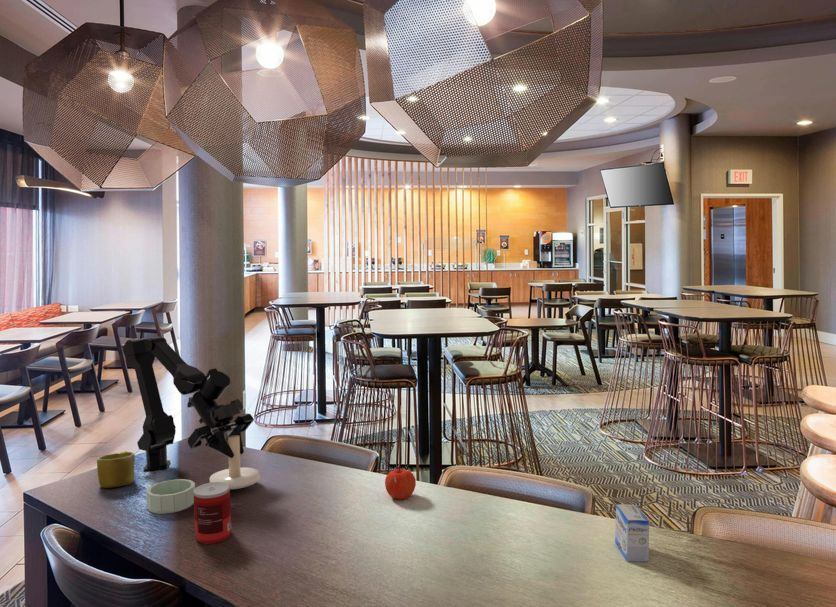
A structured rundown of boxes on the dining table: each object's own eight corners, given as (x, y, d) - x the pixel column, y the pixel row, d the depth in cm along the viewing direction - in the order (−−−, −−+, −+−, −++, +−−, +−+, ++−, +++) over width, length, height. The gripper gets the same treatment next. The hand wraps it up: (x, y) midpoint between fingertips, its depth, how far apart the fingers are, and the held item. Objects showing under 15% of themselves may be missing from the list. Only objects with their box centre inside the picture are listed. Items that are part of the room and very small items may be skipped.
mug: (128, 484, 156) (119, 448, 157) (93, 496, 156) (84, 460, 158) (152, 477, 168) (144, 443, 170) (120, 487, 169) (111, 454, 170)
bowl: (152, 498, 151) (151, 481, 151) (197, 493, 154) (196, 477, 154) (143, 516, 141) (142, 498, 141) (191, 510, 143) (191, 493, 143)
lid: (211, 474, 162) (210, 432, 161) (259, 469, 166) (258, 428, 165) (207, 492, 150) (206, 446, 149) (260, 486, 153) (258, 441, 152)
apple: (409, 505, 145) (408, 473, 145) (379, 500, 148) (379, 470, 148) (420, 493, 153) (420, 463, 152) (392, 489, 156) (392, 460, 155)
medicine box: (614, 543, 124) (615, 503, 124) (635, 543, 124) (636, 503, 124) (626, 562, 117) (627, 520, 116) (649, 562, 116) (649, 520, 116)
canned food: (221, 525, 136) (219, 479, 135) (238, 536, 130) (236, 488, 129) (189, 536, 130) (187, 488, 129) (204, 548, 125) (202, 498, 124)
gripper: (193, 398, 150) (223, 447, 145) (248, 385, 166) (277, 428, 161) (174, 424, 155) (203, 472, 150) (230, 408, 171) (258, 451, 166)
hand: (237, 455), depth 156 cm, fingers closed on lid, 3 cm apart
